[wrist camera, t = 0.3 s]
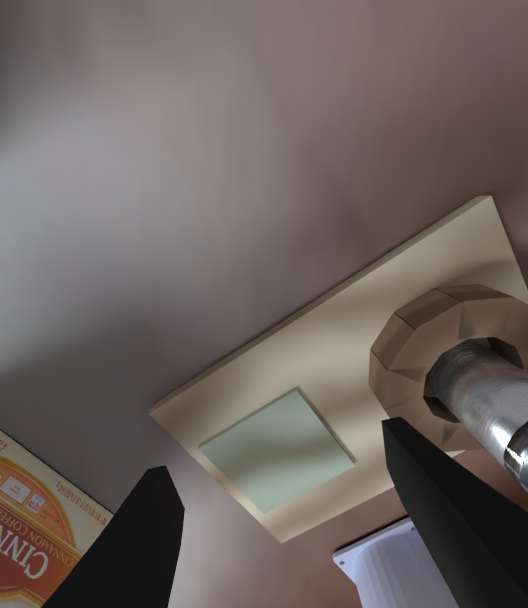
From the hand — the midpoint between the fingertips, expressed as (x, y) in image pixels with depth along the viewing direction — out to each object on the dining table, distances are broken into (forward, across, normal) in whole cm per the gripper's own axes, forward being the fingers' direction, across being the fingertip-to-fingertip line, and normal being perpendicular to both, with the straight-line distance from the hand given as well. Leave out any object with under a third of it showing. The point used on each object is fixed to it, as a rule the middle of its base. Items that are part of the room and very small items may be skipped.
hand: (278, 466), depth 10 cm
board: (+10, -6, +6) cm, 13 cm away
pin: (+9, -11, +4) cm, 15 cm away
